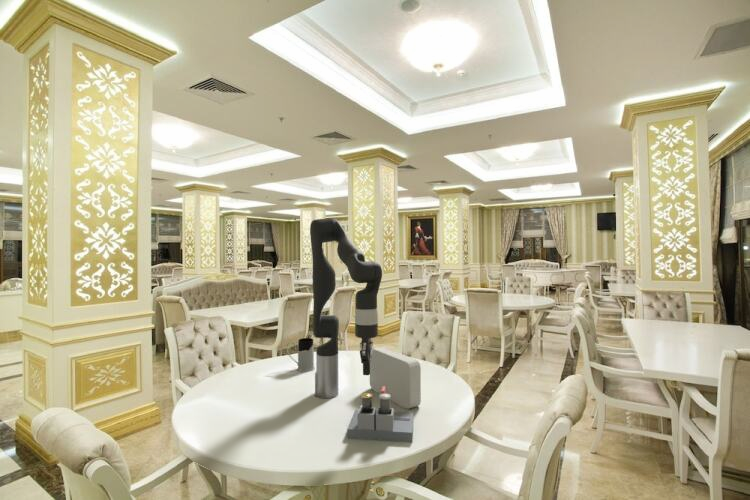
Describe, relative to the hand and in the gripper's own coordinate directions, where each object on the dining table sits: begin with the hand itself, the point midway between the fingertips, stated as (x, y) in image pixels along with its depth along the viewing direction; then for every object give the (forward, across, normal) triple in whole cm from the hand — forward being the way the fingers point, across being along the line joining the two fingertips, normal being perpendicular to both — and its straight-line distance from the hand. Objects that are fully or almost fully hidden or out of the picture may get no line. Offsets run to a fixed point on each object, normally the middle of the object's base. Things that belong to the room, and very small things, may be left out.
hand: (366, 374), depth 125 cm
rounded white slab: (+20, +33, -6) cm, 39 cm away
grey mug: (+20, +65, +44) cm, 81 cm away
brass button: (+12, 0, 0) cm, 12 cm away
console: (+20, +5, -5) cm, 21 cm away
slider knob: (+17, +10, +2) cm, 19 cm away
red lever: (+17, +6, -5) cm, 18 cm away
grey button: (+12, 0, -6) cm, 13 cm away
